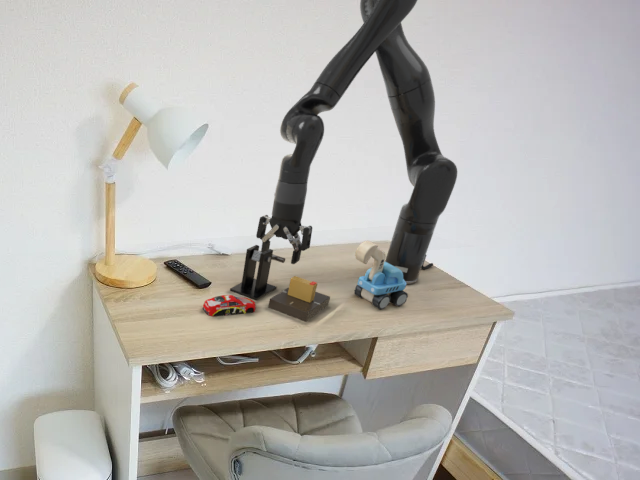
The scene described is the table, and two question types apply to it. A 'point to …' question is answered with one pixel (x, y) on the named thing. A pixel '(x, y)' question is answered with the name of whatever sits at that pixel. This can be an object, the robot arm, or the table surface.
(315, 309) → the lock plate
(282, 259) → the grey lever handle
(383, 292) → the toy excavator
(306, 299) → the lock knob
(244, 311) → the race car
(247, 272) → the lever bracket
